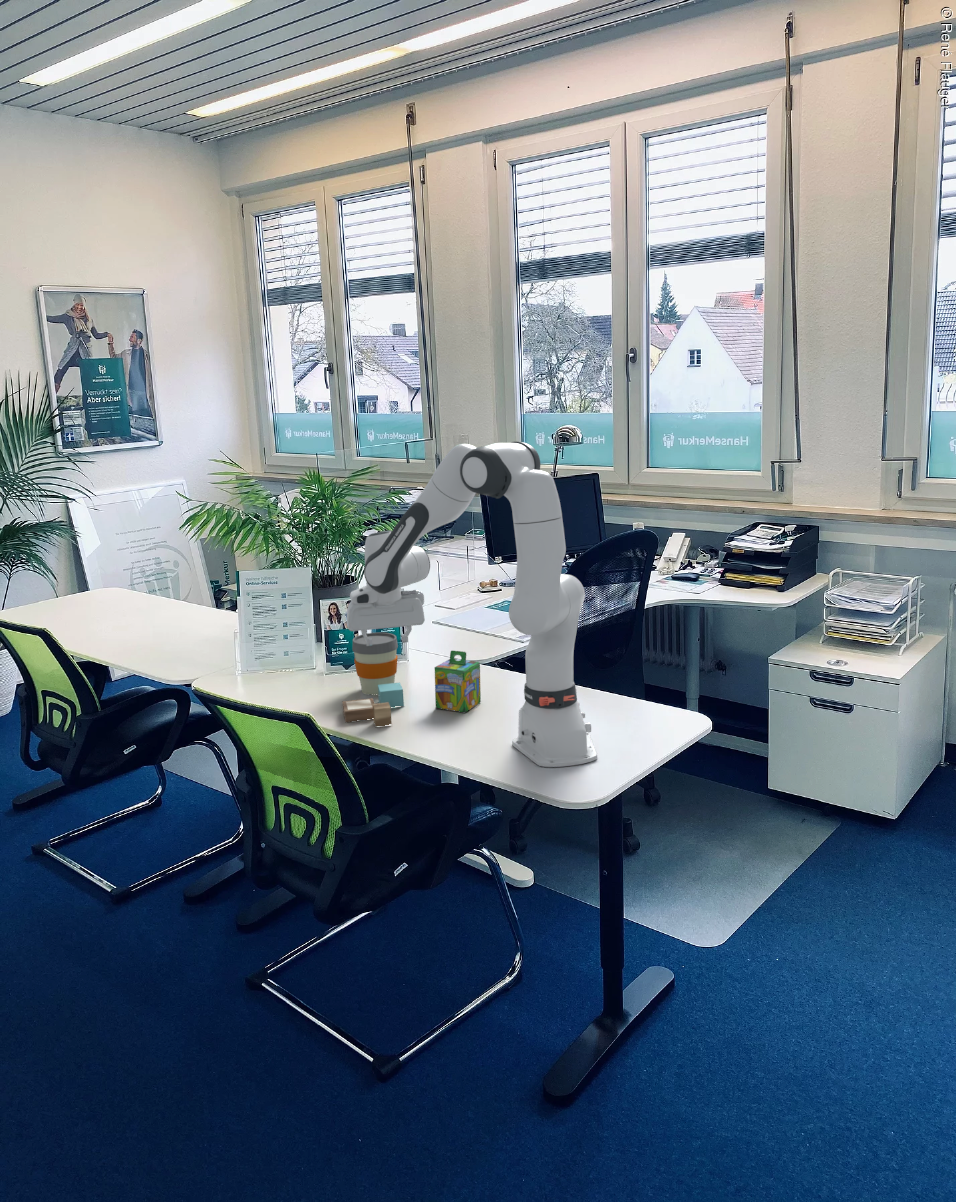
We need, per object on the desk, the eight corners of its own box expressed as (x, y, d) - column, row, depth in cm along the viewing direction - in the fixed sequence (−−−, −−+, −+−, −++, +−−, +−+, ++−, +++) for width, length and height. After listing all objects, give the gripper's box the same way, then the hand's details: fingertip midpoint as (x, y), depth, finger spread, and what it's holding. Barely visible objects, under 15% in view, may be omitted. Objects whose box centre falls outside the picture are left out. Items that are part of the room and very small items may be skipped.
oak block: (391, 726, 241) (390, 707, 239) (375, 728, 240) (374, 709, 239) (389, 720, 244) (388, 702, 243) (374, 722, 244) (372, 703, 242)
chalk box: (434, 709, 251) (432, 655, 248) (452, 698, 259) (449, 645, 255) (465, 714, 247) (463, 658, 243) (482, 702, 255) (480, 649, 251)
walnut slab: (377, 719, 246) (376, 707, 245) (345, 722, 244) (344, 711, 243) (373, 708, 253) (372, 697, 252) (343, 712, 252) (342, 701, 251)
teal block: (403, 707, 254) (402, 689, 253) (381, 709, 253) (380, 691, 252) (401, 700, 260) (399, 682, 258) (378, 702, 258) (377, 684, 257)
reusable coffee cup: (406, 693, 265) (403, 640, 261) (362, 700, 260) (358, 647, 257) (393, 680, 276) (389, 630, 272) (350, 686, 272) (346, 636, 268)
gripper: (421, 586, 254) (424, 636, 257) (344, 593, 250) (347, 644, 253) (425, 591, 248) (428, 643, 251) (346, 598, 244) (349, 650, 247)
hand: (387, 643), depth 252 cm, fingers open, 8 cm apart
